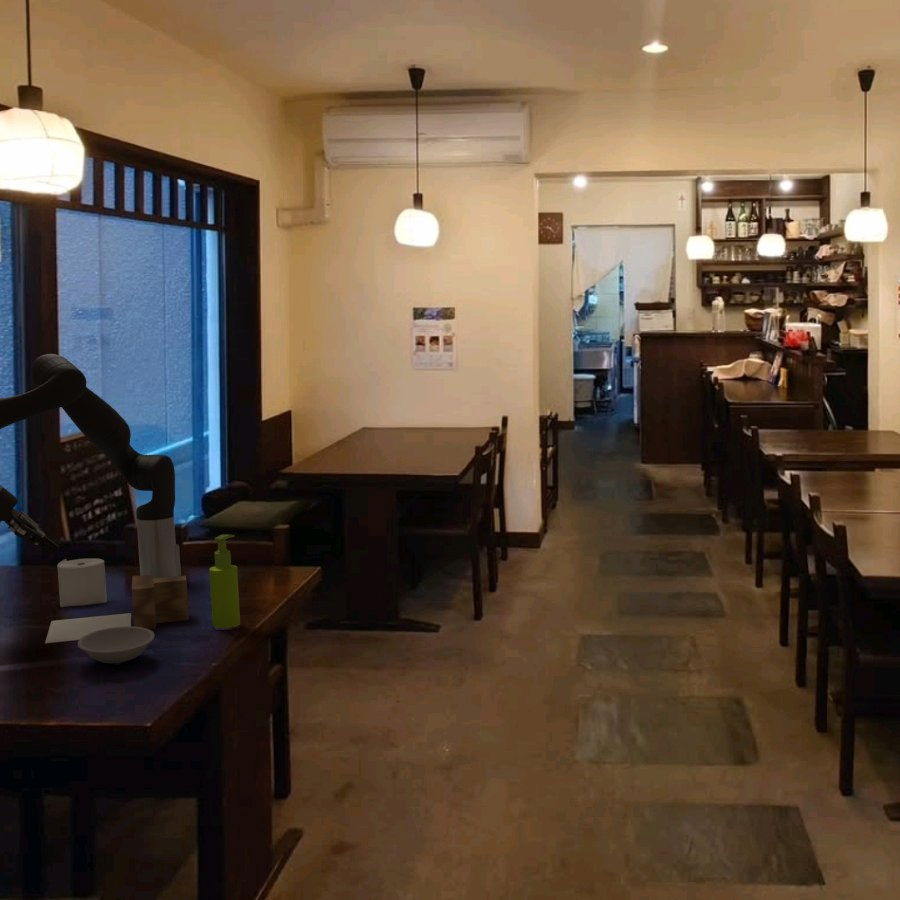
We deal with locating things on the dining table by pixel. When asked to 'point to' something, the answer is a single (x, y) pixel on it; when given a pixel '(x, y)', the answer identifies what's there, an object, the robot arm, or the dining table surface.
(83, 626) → the board
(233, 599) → the soap dispenser
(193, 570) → the dining table surface
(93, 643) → the dish
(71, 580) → the toilet tissue
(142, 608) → the t block
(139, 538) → the robot arm
